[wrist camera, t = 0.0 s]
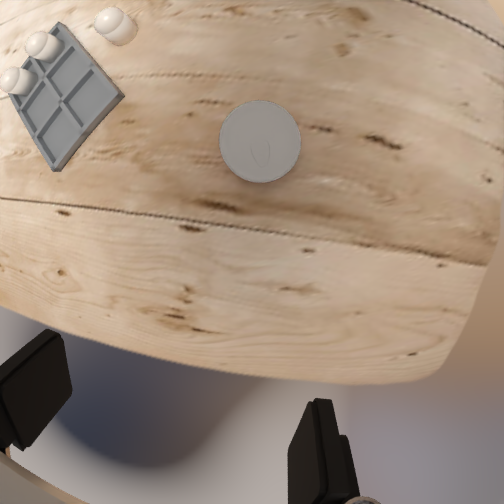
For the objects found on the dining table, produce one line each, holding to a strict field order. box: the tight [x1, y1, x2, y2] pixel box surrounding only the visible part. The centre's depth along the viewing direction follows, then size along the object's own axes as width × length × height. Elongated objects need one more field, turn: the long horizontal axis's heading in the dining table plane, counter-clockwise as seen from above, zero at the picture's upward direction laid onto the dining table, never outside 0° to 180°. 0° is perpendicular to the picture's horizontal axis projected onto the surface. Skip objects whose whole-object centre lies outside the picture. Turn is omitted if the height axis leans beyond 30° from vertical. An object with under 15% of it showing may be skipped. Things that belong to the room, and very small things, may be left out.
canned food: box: [219, 100, 301, 183], centre depth 32 cm, size 8×8×11 cm
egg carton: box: [8, 22, 125, 172], centre depth 35 cm, size 16×23×2 cm
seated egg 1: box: [0, 67, 38, 96], centre depth 31 cm, size 5×5×7 cm
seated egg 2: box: [25, 31, 65, 64], centre depth 30 cm, size 5×5×7 cm
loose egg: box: [94, 7, 138, 46], centre depth 30 cm, size 5×5×7 cm
